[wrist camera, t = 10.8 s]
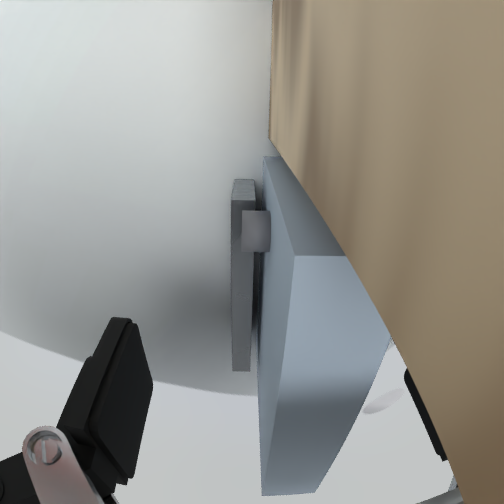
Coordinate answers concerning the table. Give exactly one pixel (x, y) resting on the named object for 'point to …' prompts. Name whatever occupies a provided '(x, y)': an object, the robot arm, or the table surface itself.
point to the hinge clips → (241, 276)
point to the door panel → (306, 336)
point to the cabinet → (411, 189)
